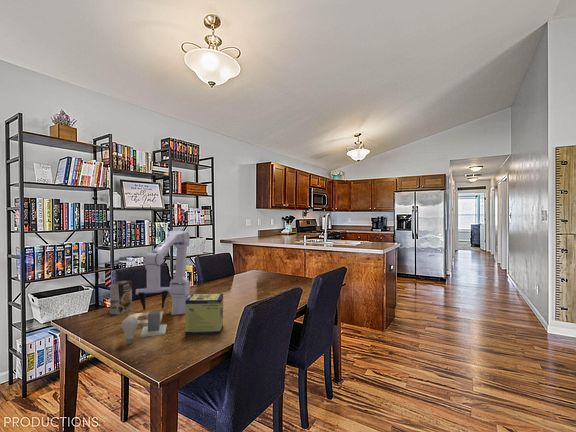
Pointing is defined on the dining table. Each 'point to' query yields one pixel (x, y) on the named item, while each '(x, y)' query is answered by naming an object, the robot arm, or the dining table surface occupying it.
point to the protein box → (204, 314)
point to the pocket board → (143, 318)
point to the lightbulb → (129, 328)
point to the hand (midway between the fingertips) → (153, 308)
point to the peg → (154, 321)
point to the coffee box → (120, 297)
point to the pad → (153, 333)
